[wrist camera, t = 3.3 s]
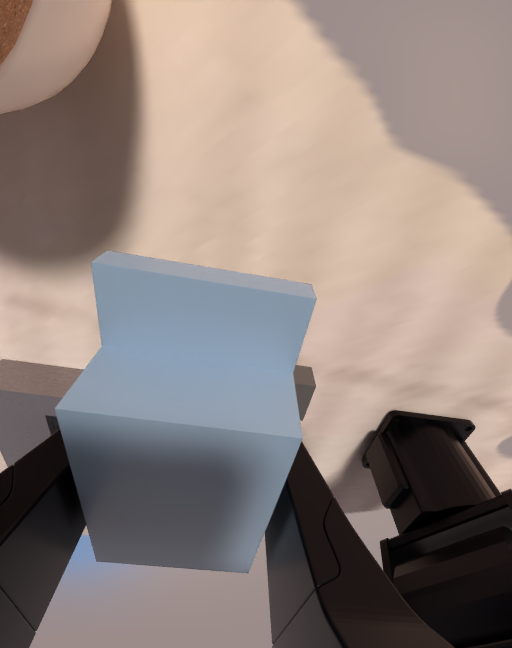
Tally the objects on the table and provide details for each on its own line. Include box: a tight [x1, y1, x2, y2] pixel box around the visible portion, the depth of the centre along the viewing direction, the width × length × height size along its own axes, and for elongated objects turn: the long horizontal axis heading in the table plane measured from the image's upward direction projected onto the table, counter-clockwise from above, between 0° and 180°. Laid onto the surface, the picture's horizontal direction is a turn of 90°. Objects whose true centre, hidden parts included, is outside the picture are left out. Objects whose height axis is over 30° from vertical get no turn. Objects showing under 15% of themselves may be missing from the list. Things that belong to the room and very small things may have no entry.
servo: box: [55, 251, 317, 573], centre depth 9 cm, size 6×10×5 cm, turn 170°
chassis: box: [0, 359, 84, 467], centre depth 22 cm, size 16×12×2 cm
